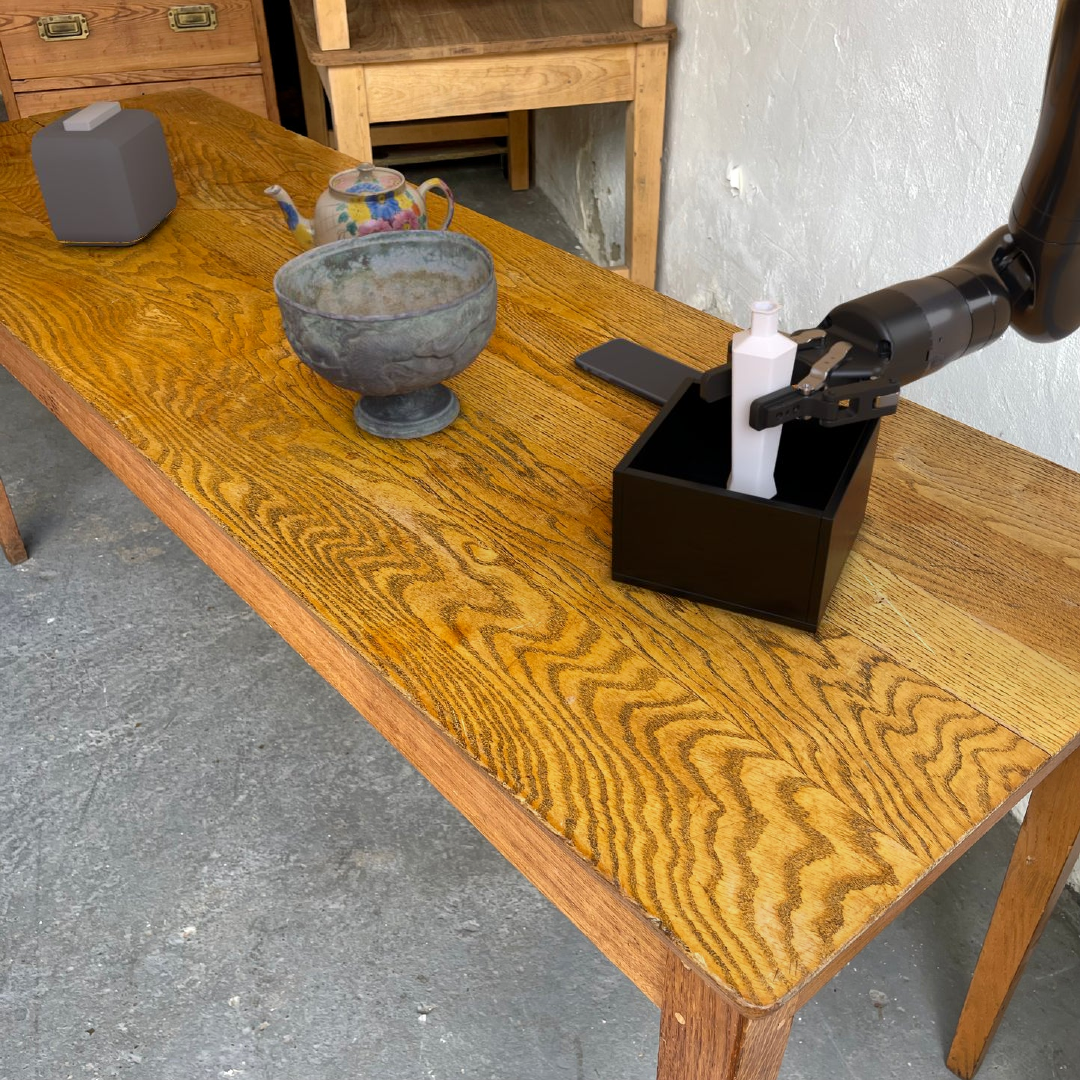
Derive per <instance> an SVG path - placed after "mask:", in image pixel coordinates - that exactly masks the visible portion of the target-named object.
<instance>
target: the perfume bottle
mask: <svg viewBox="0 0 1080 1080" xmlns="http://www.w3.org/2000/svg"><path fill="white" fill-rule="evenodd" d="M749 308H750V311H751V316H750V327H751V328H750V327H749V328H750V329H749V328H747V329H744V330H741V331H737V332H734V333H733V334H732V339H733V343H732V470H731V473H730V476H729V479H728V481H727V490H731V491H736V492H740V493H745V494H749V495H754V496H758V497H763V498H767V499H770V498H771V497H773V496H774V495H776V494H777V491H776V487H775V482H774V477H773V473H774V468H775V463H776V457H777V452H778V446H779V441H780V436H781V430H782V425H783V424H780V425H779V426H776V427H773V428H766V429H764V430H762V431H756V430H755V429H753V428H751V427H750V426H749V414H750V406H751V403H752V402H753V401H754V400H755V399H757V398H760V397H762V396H765V395H767V394H770V393H772V392H774V391H777V390H779V389H782V388H784V387H787V386H789V385H790V382H791V377H792V371H793V366H794V361H795V355H796V350H797V343H795V342H794V341H792V340H790V339H789V338H787V337H785V336H784V335H782V334H781V333H779V332H777V331H779V319H780V310H781V309H782V308H783V306H782V305H781V304H780V303H778V302H776V301H774V300H772V299H761V300H752V301H750V307H749Z"/></svg>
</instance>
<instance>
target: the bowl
mask: <svg viewBox="0 0 1080 1080" xmlns="http://www.w3.org/2000/svg"><path fill="white" fill-rule="evenodd" d="M272 281H273V282H272V284H273V291H274V294H275V296H276V300H277V302H276V303H277V305H278V308H279V311H280V316H281V321H282V329H283V331H284V333H285V334H284V335H285V338H286V340H287V342H288V343H289V345H290V347H291V350H292V351H293V352H294V354H296V356H297V358H298V359H299V361H300V362H301V363H302V364H303V365H304V366H306V367H307V368H309V369H310V370H311V371H313V372H314V373H315V374H316V375H318V376H319V377H320V378H322V379H324V380H325V381H327V382H329V383H330V384H332V385H334V386H336V387H338V388H340V389H343V390H346V391H349V392H353V393H356V394H359V395H361V396H360V397H359V398H358V399H357V401H356V403H355V404H354V407H353V419H354V422H355V424H356V425H357V426H358V427H359V428H360V429H362V430H364V431H365V432H367V433H368V434H370V435H373V436H377V437H380V438H385V439H393V440H395V439H399V440H401V439H402V440H409V439H419V438H422V437H423V438H424V437H426V436H430V435H433V434H434V433H437V432H439V431H442V430H444V429H445V428H447V427H448V426H450V425H451V424H452V423H453V422H454V421H455V420H456V419H457V417H458V415H459V414H460V410H461V409H460V401H459V399H458V395H457V394H456V393H455V392H454V391H453V390H452V389H451V387H448V386H447V385H445V384H444V383H442V382H446V381H449V380H451V379H453V378H455V377H458V376H459V375H460V374H462V373H463V372H464V371H466V370H467V369H468V368H469V367H470V366H471V365H473V364H474V363H475V361H476V360H477V359H478V357H479V356H480V354H481V353H482V352H483V351H484V350H485V349H486V348H487V347H488V345H489V341H490V340H491V338H492V336H493V334H494V332H495V329H496V326H497V313H498V312H497V311H498V282H497V277H496V273H495V264H494V259H493V257H492V254H491V252H490V250H489V249H488V248H487V247H486V246H484V245H483V244H482V243H481V242H479V241H478V240H477V239H475V238H473V237H471V236H469V235H467V234H464V233H461V232H457V231H451V230H446V231H441V230H439V229H429V230H397V231H384V232H377V233H372V234H368V235H364V236H362V237H353V238H348V239H343V240H339V241H335V242H332V243H329V244H326V245H323V246H319V247H316V248H314V249H311V250H309V251H305V252H303V253H301V254H298V255H297V256H295V257H293V258H292V259H290V260H288V261H287V262H286V263H284V264H283V265H282V266H281V267H279V269H278V270H277V272H276V273H275V275H274V277H273V280H272Z"/></svg>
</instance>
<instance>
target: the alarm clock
mask: <svg viewBox="0 0 1080 1080" xmlns="http://www.w3.org/2000/svg"><path fill="white" fill-rule="evenodd" d="M30 153H31V161H32V165H33V168H34V171H35V175H36V177H37V181H38V185H39V188H40V192H41V195H42V198H43V202H44V206H45V209H46V212H47V216H48V220H49V222H50V226H51V230H52V232H53V234H54V236H55V239H56V241H57V242H58V241H65V242H66V241H71V242H72V241H74V242H114V243H60V244H61V245H62V246H67V247H68V246H72V247H73V246H74V247H75V246H76V247H82V246H84V247H128V246H132V245H133V246H134V245H136V244H139V243H141V242H142V241H143V240H144V239H145V238H147V237H148V236H149V235H150V234H151V233H152V232H153V231H154V230H155V229H156V228H157V227H158V226H159V225H161V224H162V223H163V222H164V221H165V220H166V219H168V217H170V215H171V214H172V212H174V211H175V209H176V208H177V204H178V191H177V186H176V181H175V177H174V172H173V168H172V164H171V159H170V154H169V149H168V145H167V141H166V135H165V131H164V127H163V126H162V123H161V121H160V119H159V117H157V116H156V115H155V114H154V113H152V112H151V111H150V110H147V109H142V108H121V103H120V102H119V101H94V102H92V103H90V104H89V105H88V106H86V107H84V108H73V109H72V110H70V111H69V112H67V113H66V114H64V115H62V116H60V117H59V118H57V119H55V120H54V121H52V122H51V123H49V124H47V125H45V126H44V127H42V128H41V129H39V130H37V131H36V132H35V133H34V135H33V137H32V138H31V145H30ZM171 211H172V212H171ZM170 212H171V213H170ZM169 213H170V214H169ZM168 214H169V215H168ZM167 215H168V216H167ZM166 216H167V217H166ZM159 222H160V223H159ZM158 223H159V224H158ZM157 224H158V225H157ZM156 225H157V226H156ZM155 226H156V227H155ZM154 227H155V228H154ZM153 228H154V229H153ZM146 234H147V235H146ZM145 235H146V236H145ZM144 236H145V237H144ZM142 237H144V238H142ZM140 238H142V239H140ZM138 239H140V240H138ZM134 240H138V241H135V242H131V241H134ZM115 242H119V243H115ZM122 242H130V243H122Z"/></svg>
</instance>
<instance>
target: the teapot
mask: <svg viewBox="0 0 1080 1080" xmlns="http://www.w3.org/2000/svg"><path fill="white" fill-rule="evenodd" d="M433 188H438V189H440V190H442V192H443V193H444V195H445V197H446V201H447V211H446V215H445V218H444V219H443V221H442V223H441V225H440V227H439V228H438V230H441V231H448V228H450V225H451V223H452V221H453V218H454V214H455V200H454V195H453V193H452V190H451V189H450V188H449V186H448V185H447V183H446V182H444V181H443V180H442V179H441V178H438V177H434V178H430V179H427V180H425V181H424V182H422V184H420V185H419V186H418V187H417V188H414V187H413V186H411V185H410V184H408V183H407V182H406V178H405V176H404V175H403V173H401V172H400V171H398V170H396V169H393V168H388V167H381V166H375V164H374V163H372V162H369V161H368V162H367V161H366V162H365V161H364V162H360V163H358V164H356V166H355V168H349V169H346V170H342V171H340V172H338V173H336V174H334V175H332V176H331V177H330V178H329V180H328V187H327V188H326V189H325V190H324V191H323V192H322V193H321V194H320V196H319V197H318V199H317V201H316V202H315V205H314V210H313V218H310V219H309V218H306V217H303V215H301V213H300V212H299V210H298V208H297V207H296V204H295V203H294V201H293V199H292V198H291V197H290V195H289V194H288V193H287V191H286V190H285V189H284V188H283V187H282V186H281V185H279V184H273V185H271V186H269V187H267V188H266V189H264V190H263V193H264V194H265V195H267V196H269V197H271V198H272V199H273V200H275V201H276V204H277V205H278V206H279V208H280V211H281V212H282V215H283V217H284V220H285V222H286V224H287V227H288V229H289V231H290V233H291V235H292V237H293V238H294V240H295V241H296V243H297V244H298V245H299V246H300V247H301V248H302V249H303V250H304V251H305V252H307V251H309V250H311V249H314V248H316V247H319V246H323V245H326V244H329V243H332V242H335V241H339V240H343V239H348V238H353V237H362V236H364V235H368V234H372V233H377V232H384V231H397V230H430V226H429V217H428V211H427V206H426V205H427V204H426V203H427V193H428V192H429V191H430V190H431V189H433Z"/></svg>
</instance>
